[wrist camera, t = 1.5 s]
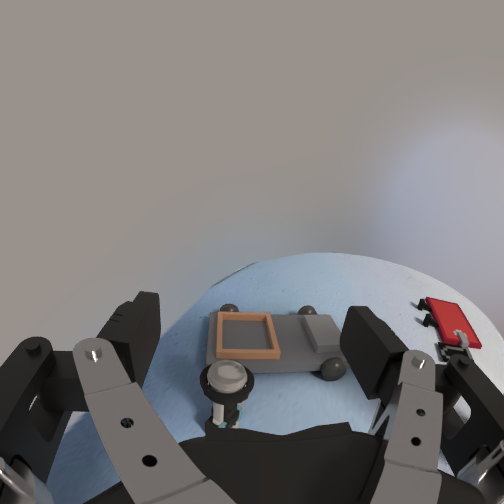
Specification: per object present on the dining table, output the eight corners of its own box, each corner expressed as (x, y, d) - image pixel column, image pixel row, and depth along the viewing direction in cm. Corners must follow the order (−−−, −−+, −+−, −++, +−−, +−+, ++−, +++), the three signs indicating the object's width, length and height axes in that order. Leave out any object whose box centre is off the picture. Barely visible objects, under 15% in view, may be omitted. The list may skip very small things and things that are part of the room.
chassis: (321, 320, 53) (325, 303, 51) (352, 378, 36) (360, 359, 35) (210, 319, 50) (210, 300, 49) (205, 384, 34) (204, 364, 33)
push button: (224, 398, 32) (227, 341, 29) (260, 415, 30) (270, 360, 26) (193, 429, 26) (188, 374, 23) (232, 451, 24) (236, 400, 21)
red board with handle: (434, 362, 39) (488, 370, 34) (440, 351, 38) (495, 359, 33) (413, 298, 65) (455, 308, 60) (416, 289, 64) (459, 299, 60)
